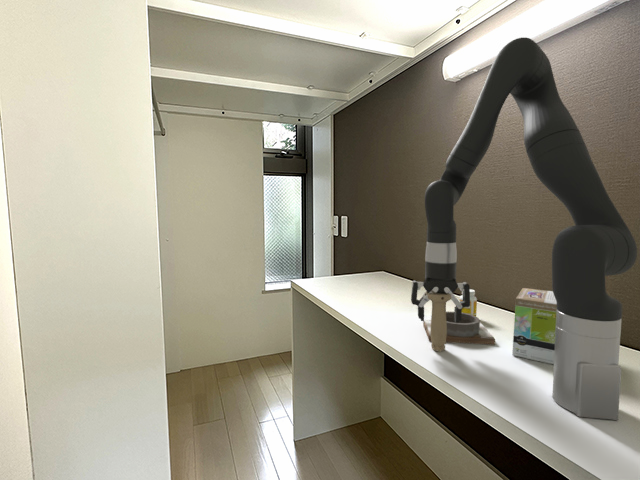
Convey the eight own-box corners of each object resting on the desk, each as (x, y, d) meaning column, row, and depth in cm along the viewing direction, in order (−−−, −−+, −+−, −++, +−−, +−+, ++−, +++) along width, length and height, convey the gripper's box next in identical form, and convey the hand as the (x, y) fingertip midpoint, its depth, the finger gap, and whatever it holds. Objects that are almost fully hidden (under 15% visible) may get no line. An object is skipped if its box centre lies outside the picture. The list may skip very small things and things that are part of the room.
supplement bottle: (464, 321, 110) (464, 292, 109) (455, 316, 115) (456, 288, 114) (479, 320, 110) (480, 291, 110) (470, 315, 116) (471, 288, 115)
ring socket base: (494, 344, 90) (495, 326, 90) (429, 341, 93) (429, 323, 93) (480, 328, 103) (481, 312, 103) (423, 325, 106) (423, 310, 106)
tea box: (561, 367, 77) (564, 304, 76) (511, 356, 83) (513, 297, 82) (562, 345, 89) (565, 291, 88) (519, 337, 95) (521, 286, 94)
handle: (454, 353, 85) (455, 295, 84) (429, 353, 85) (430, 295, 84) (446, 345, 90) (447, 290, 89) (422, 346, 90) (423, 291, 89)
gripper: (413, 261, 84) (412, 324, 85) (474, 262, 81) (471, 327, 83) (410, 257, 91) (410, 315, 93) (466, 258, 88) (464, 318, 90)
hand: (439, 321), depth 88 cm, fingers open, 8 cm apart
